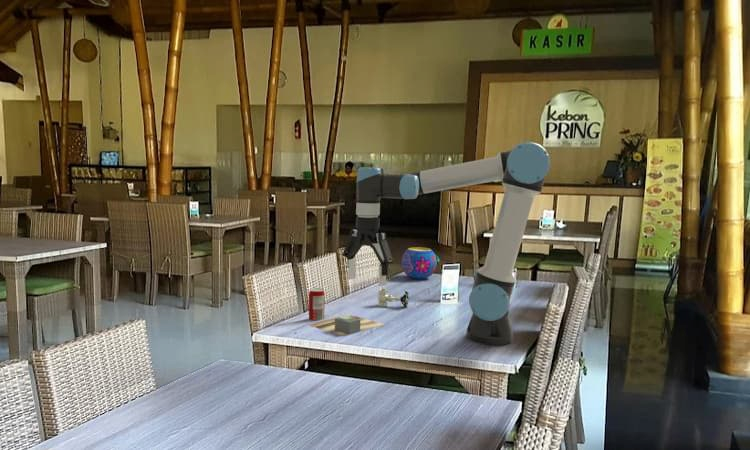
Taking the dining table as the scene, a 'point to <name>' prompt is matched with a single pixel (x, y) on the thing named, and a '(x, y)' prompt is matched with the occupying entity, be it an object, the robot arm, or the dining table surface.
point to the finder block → (347, 324)
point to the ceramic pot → (419, 262)
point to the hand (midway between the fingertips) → (366, 282)
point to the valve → (391, 298)
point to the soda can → (316, 304)
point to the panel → (330, 326)
